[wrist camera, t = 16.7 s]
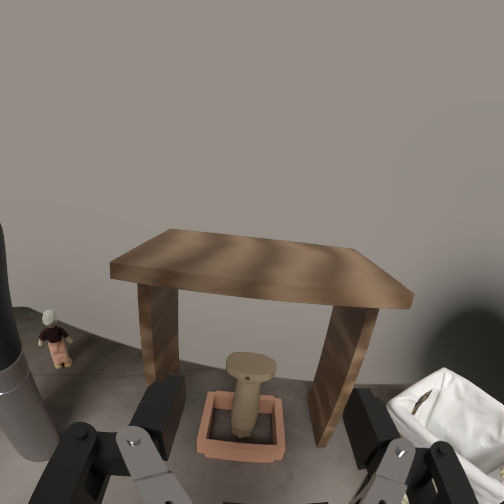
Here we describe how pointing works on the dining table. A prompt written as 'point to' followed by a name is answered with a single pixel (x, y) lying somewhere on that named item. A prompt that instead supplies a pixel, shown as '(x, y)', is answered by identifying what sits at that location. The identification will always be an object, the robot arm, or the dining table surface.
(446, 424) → the storage basket
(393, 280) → the wooden footstool
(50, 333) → the grandmother figurine
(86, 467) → the robot arm
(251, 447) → the socket
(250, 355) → the handle
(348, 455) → the dining table surface
